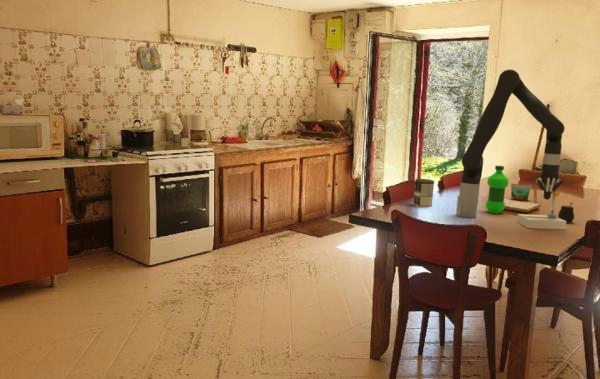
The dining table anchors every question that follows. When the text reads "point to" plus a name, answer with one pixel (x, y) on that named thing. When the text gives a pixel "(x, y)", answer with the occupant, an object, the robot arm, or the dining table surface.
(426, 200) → the coffee can
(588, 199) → the dining table surface
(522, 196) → the food container
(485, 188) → the dining table surface
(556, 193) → the breaker handle
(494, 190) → the plastic bottle
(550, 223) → the block
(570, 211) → the mate gourd
